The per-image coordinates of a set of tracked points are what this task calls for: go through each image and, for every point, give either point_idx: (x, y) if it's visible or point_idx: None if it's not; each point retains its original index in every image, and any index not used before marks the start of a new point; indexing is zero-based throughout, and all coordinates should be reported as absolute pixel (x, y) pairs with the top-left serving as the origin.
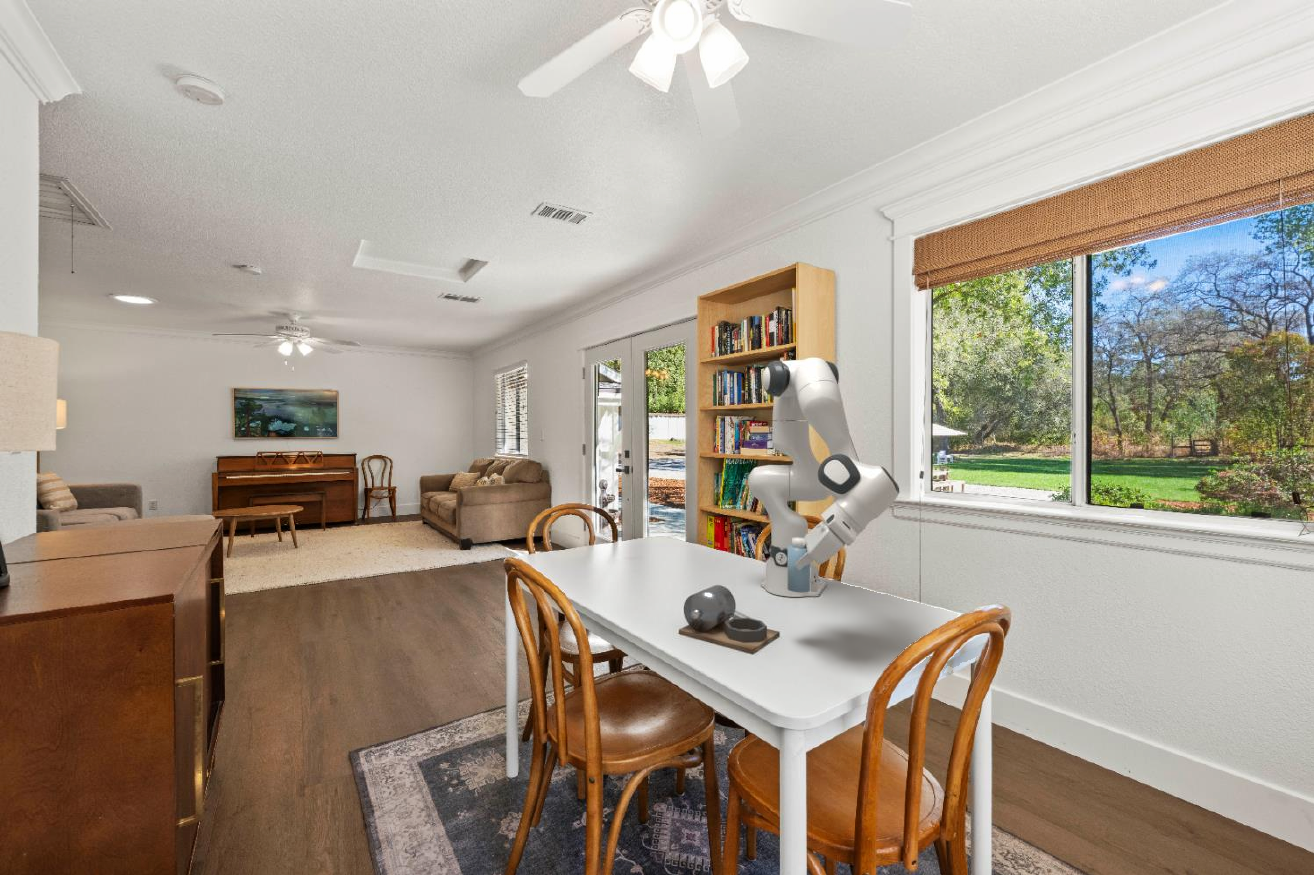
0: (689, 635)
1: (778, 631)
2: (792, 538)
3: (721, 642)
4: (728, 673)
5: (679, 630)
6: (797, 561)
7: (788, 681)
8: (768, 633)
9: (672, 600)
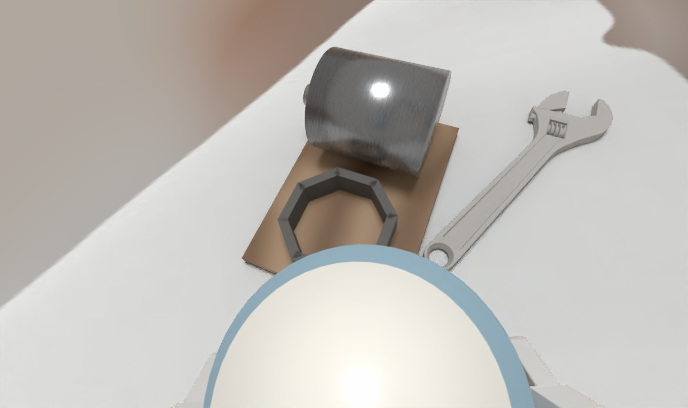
0: None
1: None
2: (351, 269)
3: (283, 185)
4: (140, 226)
5: None
6: (200, 379)
7: (93, 361)
8: None
9: (547, 43)
